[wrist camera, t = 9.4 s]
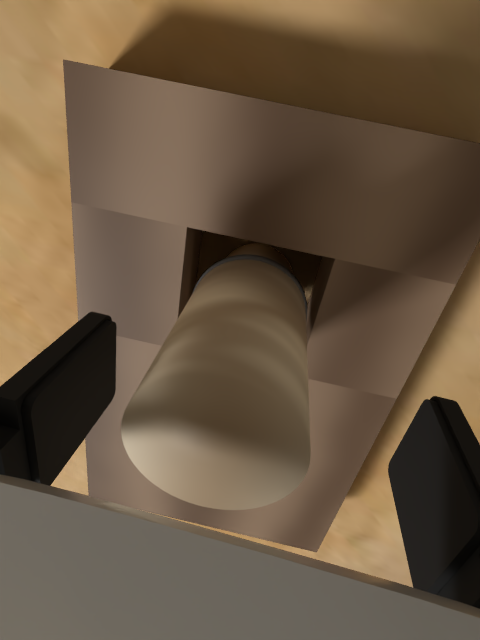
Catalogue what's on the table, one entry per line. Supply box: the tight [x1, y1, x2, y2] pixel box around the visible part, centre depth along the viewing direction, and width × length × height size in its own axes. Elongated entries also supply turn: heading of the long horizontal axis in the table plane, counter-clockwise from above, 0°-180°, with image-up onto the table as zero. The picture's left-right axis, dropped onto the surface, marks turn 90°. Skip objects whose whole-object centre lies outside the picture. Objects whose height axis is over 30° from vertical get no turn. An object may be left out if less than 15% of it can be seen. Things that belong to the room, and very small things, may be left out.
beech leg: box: [121, 244, 311, 510], centre depth 13 cm, size 4×4×10 cm
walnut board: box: [63, 60, 480, 552], centre depth 18 cm, size 14×22×3 cm, turn 170°
